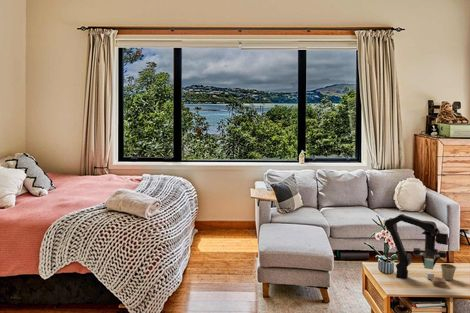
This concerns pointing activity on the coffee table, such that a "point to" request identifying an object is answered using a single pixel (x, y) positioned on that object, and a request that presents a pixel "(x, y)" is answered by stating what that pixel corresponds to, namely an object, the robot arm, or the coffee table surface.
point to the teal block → (428, 263)
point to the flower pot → (448, 271)
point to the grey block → (429, 275)
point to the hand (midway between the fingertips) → (428, 265)
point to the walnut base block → (438, 282)
